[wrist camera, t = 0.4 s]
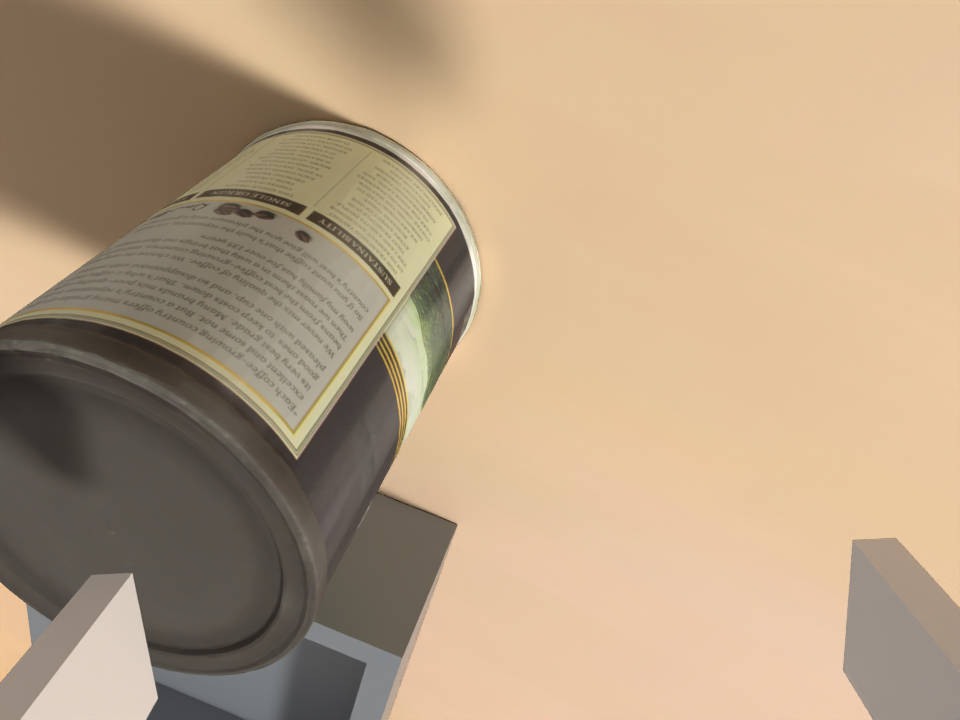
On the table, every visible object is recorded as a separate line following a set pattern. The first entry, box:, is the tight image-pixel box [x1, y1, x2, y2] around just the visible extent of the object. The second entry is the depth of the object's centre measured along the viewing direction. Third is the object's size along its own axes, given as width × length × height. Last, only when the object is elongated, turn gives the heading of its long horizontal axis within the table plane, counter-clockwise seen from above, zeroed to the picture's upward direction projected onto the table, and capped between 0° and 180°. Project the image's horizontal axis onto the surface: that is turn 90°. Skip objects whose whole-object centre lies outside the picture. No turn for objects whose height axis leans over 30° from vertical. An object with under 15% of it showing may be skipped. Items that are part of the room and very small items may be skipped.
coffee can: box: [0, 120, 481, 676], centre depth 25 cm, size 10×10×14 cm
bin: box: [26, 493, 457, 720], centre depth 40 cm, size 18×16×7 cm
